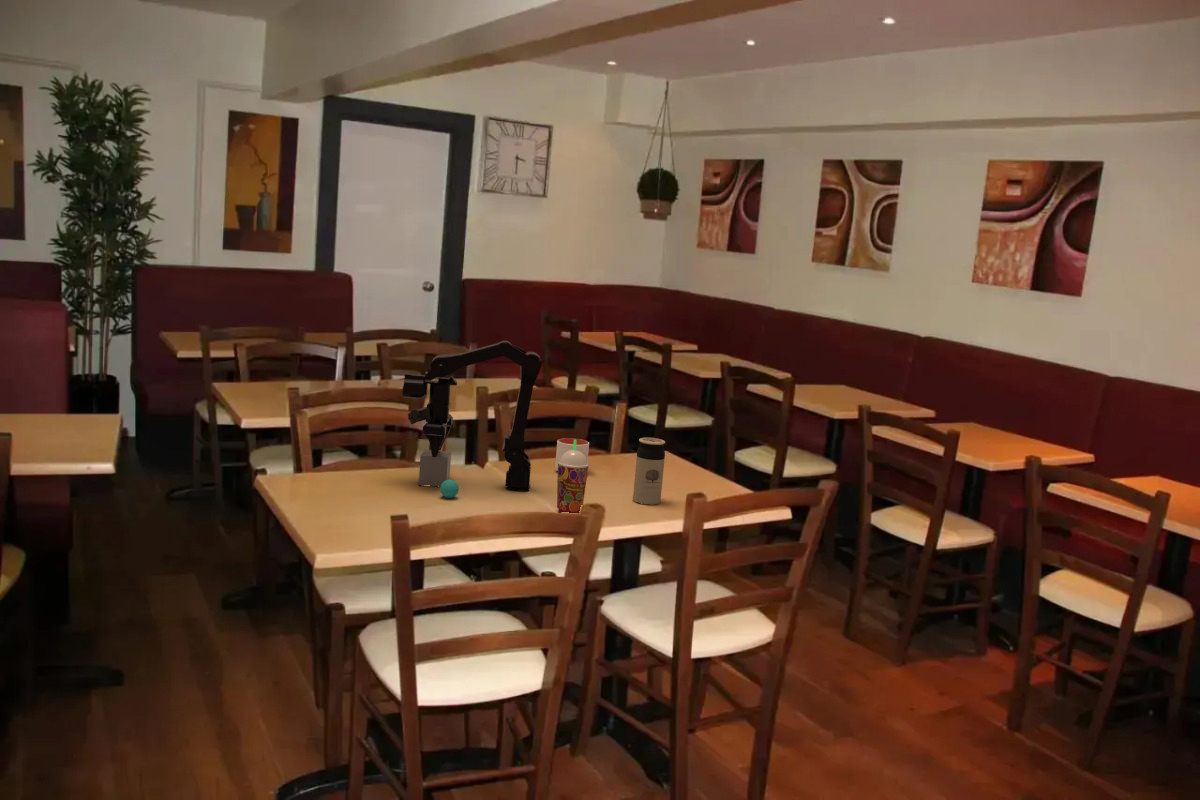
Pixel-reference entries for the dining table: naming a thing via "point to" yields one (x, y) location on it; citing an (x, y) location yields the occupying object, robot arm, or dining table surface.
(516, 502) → the dining table surface
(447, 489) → the ball
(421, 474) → the grey matte cube
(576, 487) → the smoothie
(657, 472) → the travel mug
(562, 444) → the cup
